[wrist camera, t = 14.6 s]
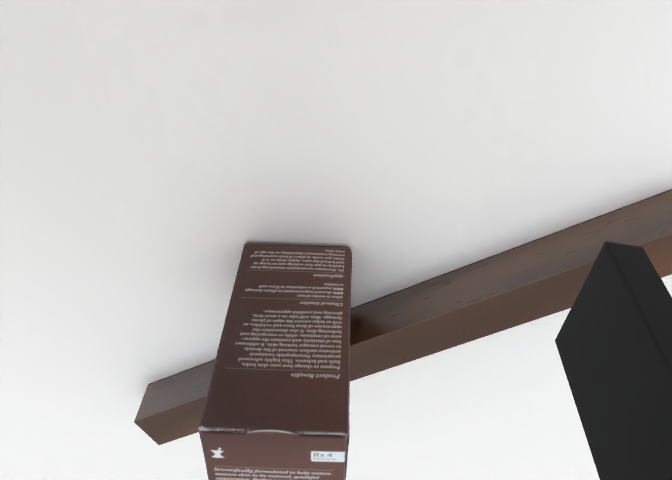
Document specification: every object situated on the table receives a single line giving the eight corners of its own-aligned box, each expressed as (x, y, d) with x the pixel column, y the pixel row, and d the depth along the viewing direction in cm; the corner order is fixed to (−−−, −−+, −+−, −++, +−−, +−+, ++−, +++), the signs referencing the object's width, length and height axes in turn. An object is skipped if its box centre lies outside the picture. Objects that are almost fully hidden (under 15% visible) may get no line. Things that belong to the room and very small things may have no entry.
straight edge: (147, 384, 42) (133, 422, 39) (679, 186, 31) (704, 220, 29) (170, 407, 43) (158, 445, 40) (689, 224, 33) (715, 260, 30)
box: (248, 303, 37) (205, 491, 27) (243, 240, 34) (193, 423, 25) (353, 307, 37) (346, 498, 27) (356, 244, 34) (349, 430, 25)
